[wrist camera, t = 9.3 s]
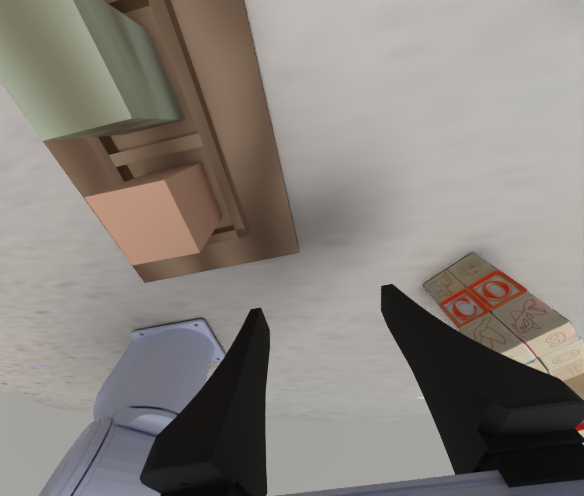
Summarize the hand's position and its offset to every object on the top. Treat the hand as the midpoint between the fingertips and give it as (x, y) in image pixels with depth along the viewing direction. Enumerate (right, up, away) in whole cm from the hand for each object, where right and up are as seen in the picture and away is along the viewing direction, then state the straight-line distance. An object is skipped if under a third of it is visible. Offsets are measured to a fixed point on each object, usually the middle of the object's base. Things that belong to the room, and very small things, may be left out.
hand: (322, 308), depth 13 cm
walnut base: (-11, +11, +4) cm, 16 cm away
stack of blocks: (+23, -5, +15) cm, 28 cm away
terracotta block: (-10, +8, +5) cm, 14 cm away
